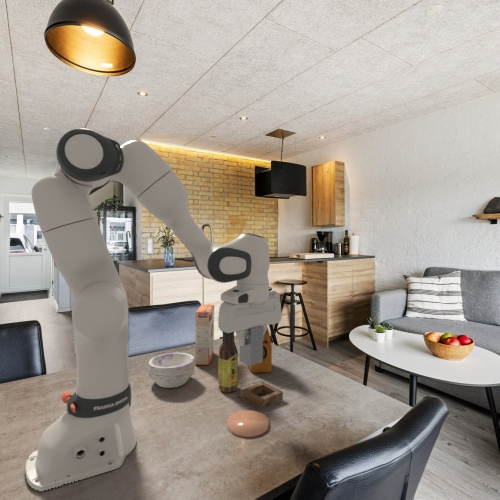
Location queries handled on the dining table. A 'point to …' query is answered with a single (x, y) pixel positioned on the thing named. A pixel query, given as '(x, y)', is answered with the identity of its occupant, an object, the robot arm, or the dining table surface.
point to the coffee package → (264, 356)
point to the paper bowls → (171, 369)
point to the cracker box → (204, 335)
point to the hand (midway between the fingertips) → (251, 343)
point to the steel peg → (252, 346)
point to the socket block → (261, 402)
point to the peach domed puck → (247, 423)
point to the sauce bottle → (228, 364)
